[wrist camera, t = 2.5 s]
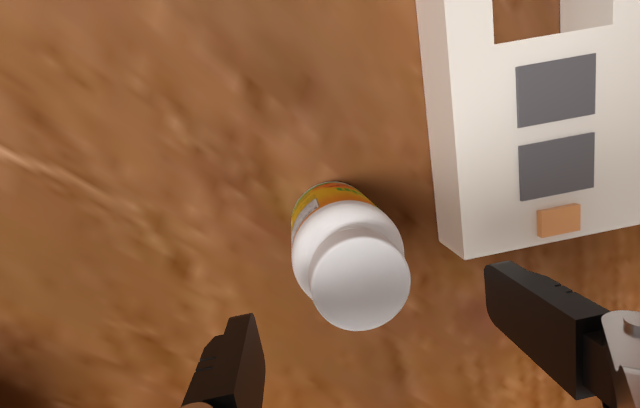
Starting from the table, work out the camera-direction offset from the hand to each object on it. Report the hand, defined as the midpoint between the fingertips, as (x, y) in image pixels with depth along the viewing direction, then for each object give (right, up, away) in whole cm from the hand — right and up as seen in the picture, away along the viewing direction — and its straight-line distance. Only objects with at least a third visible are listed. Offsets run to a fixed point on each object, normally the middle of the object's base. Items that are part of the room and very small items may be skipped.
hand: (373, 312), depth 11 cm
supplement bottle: (-1, +3, +11) cm, 12 cm away
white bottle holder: (+10, +12, +10) cm, 19 cm away
